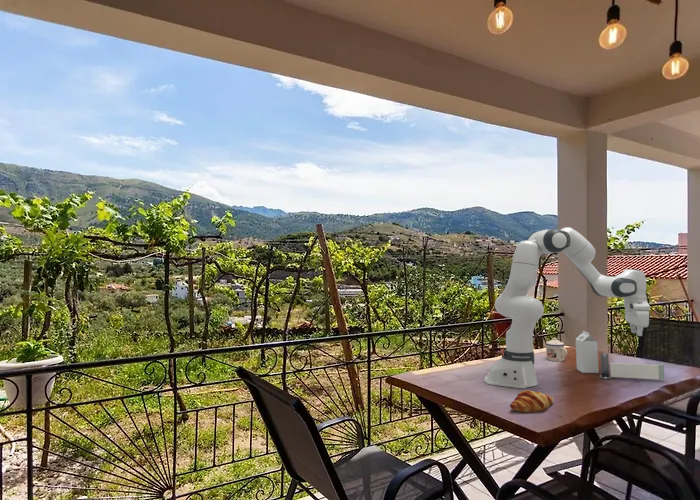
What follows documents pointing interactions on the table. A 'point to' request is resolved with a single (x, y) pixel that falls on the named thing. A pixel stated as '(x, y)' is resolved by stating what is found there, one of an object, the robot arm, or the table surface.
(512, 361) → the robot arm
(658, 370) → the gate
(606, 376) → the hinge post
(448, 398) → the table surface
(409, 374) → the table surface
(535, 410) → the croissant
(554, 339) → the teacup with lid
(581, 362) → the milk carton
